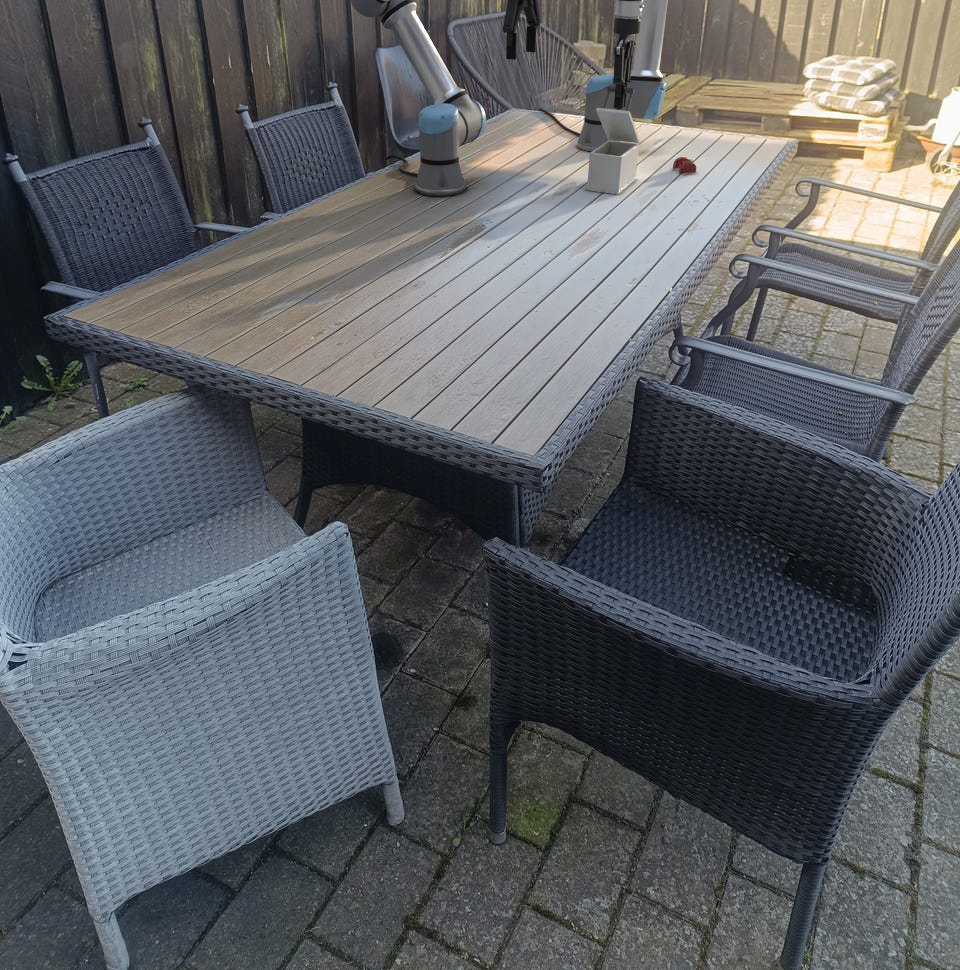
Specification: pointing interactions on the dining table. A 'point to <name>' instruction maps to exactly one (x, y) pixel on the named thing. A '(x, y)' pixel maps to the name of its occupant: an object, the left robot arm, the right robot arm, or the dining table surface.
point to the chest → (612, 167)
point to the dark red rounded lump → (684, 165)
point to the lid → (618, 120)
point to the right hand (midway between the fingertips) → (619, 107)
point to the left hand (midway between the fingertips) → (521, 55)
